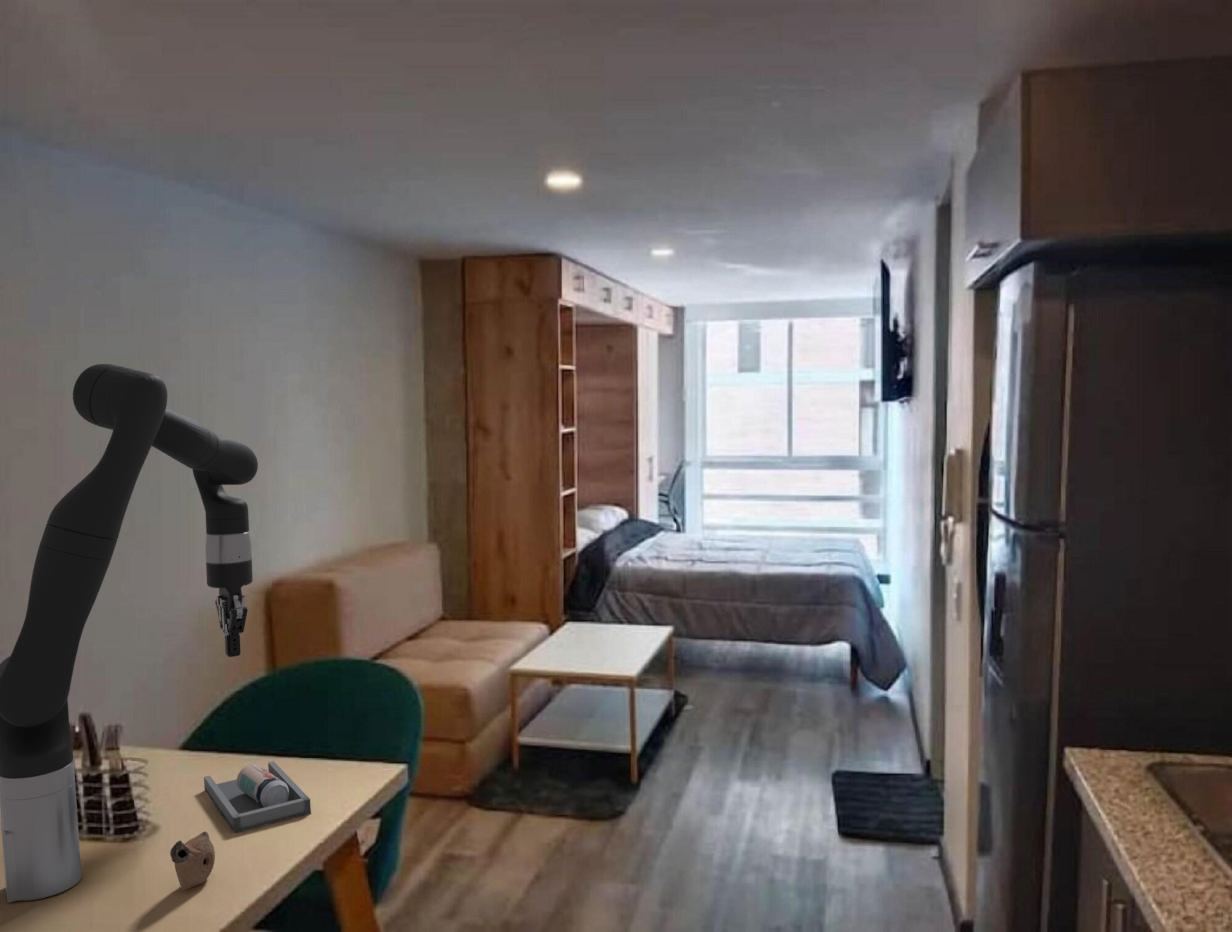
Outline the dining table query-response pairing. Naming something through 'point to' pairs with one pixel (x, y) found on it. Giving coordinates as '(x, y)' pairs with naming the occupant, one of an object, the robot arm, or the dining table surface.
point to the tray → (255, 803)
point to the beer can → (262, 786)
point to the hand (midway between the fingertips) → (233, 655)
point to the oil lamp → (193, 860)
